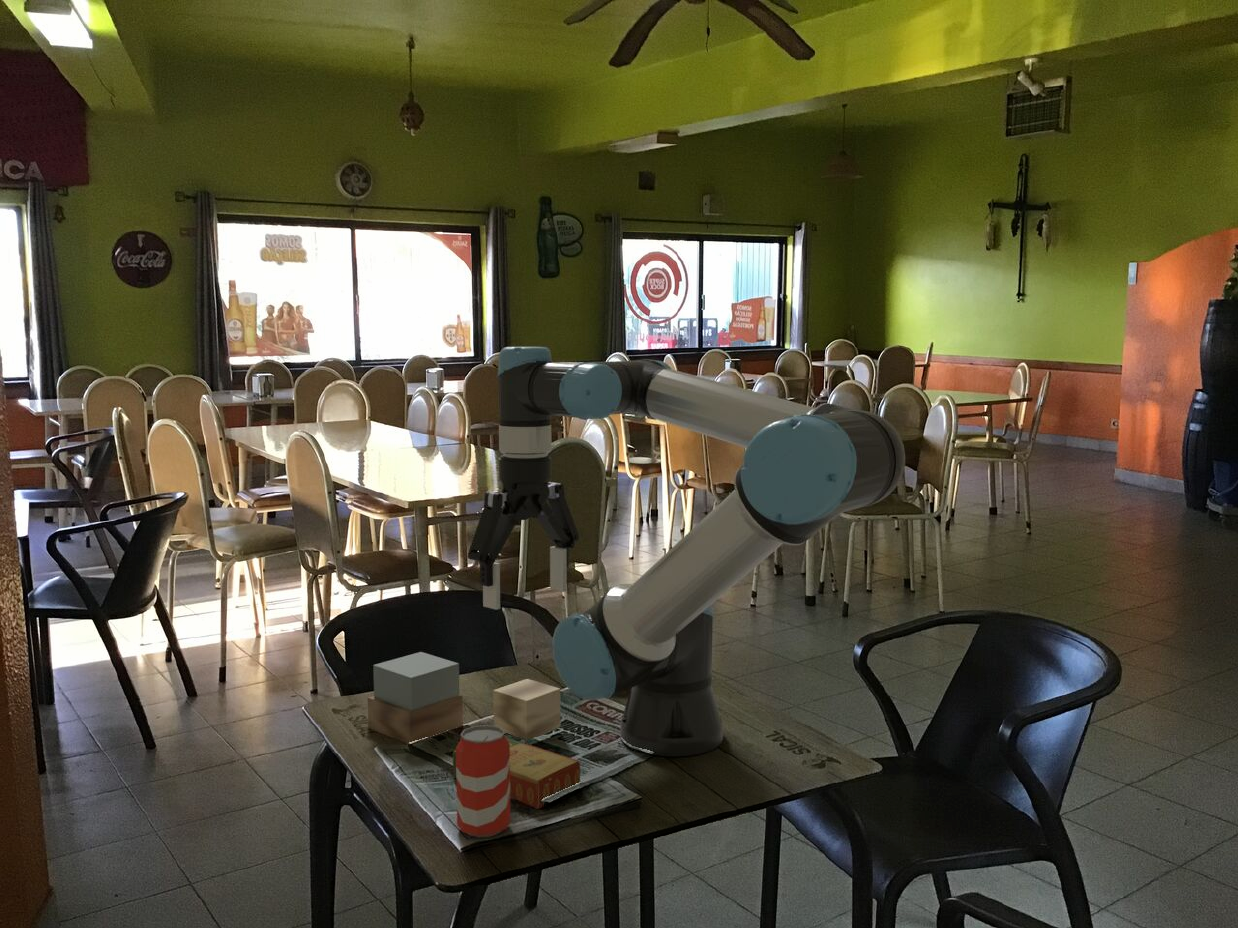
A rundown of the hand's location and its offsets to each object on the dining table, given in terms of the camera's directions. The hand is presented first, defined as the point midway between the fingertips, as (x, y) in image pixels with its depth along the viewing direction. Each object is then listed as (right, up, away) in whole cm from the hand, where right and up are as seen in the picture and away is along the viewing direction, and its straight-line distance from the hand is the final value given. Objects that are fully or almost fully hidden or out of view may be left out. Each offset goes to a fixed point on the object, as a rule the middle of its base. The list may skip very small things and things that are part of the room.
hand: (526, 598), depth 160 cm
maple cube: (0, -21, +3) cm, 21 cm away
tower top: (-17, -15, +5) cm, 23 cm away
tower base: (-17, -20, +6) cm, 27 cm away
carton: (0, -23, -14) cm, 27 cm away
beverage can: (-3, -25, -28) cm, 37 cm away
